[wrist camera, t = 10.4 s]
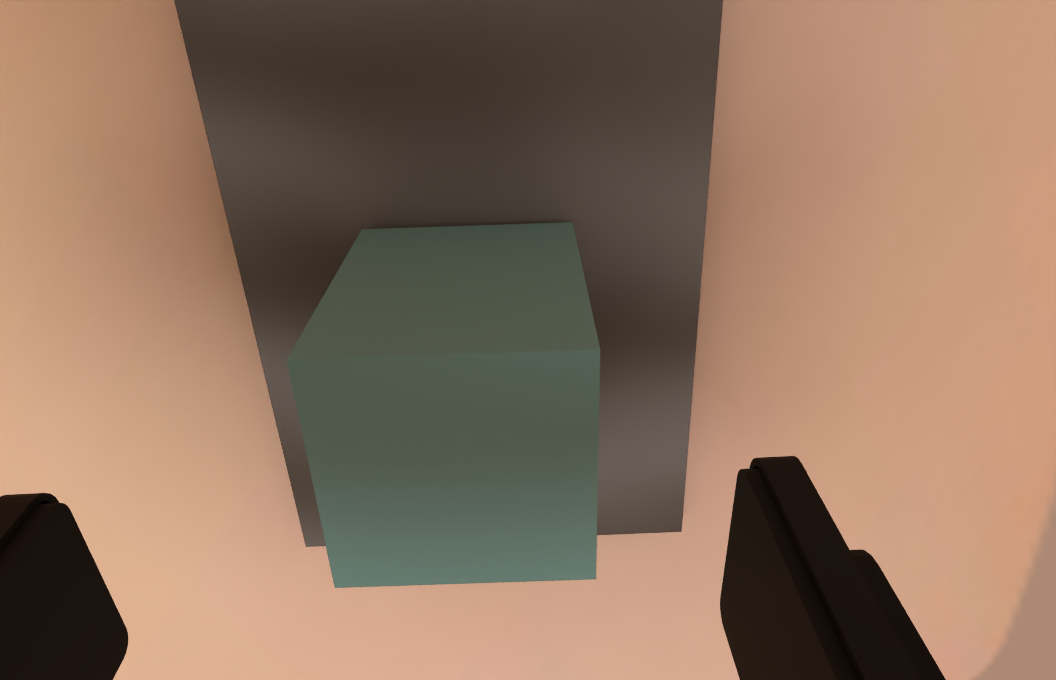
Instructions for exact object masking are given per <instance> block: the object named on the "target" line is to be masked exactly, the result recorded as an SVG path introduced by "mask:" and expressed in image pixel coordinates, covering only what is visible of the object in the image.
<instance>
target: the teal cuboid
mask: <svg viewBox="0 0 1056 680" xmlns="http://www.w3.org/2000/svg"><path fill="white" fill-rule="evenodd" d="M287 364H288V369H289V373H290V378H291V383H292V388H293V392H294V397H295V402H296V407H297V411H298V416H299V421H300V426H301V430H302V435H303V440H304V444H305V449H306V454H307V459H308V463H309V468H310V473H311V478H312V482H313V487H314V492H315V496H316V501H317V506H318V511H319V515H320V520H321V525H322V530H323V534H324V539H325V544H326V549H327V553H328V558H329V563H330V567H331V572H332V577H333V582H334V586H335V588H344V587H374V586H404V585H435V584H465V583H495V582H525V581H555V580H586V579H596V549H597V496H598V443H599V390H600V346H599V341H598V337H597V332H596V327H595V323H594V318H593V314H592V309H591V304H590V300H589V295H588V291H587V286H586V282H585V277H584V272H583V268H582V263H581V259H580V254H579V250H578V245H577V240H576V236H575V231H574V227H573V222H565V223H535V224H505V225H475V226H445V227H415V228H385V229H362V230H361V232H360V233H359V235H358V237H357V238H356V240H355V242H354V244H353V245H352V247H351V249H350V251H349V252H348V254H347V256H346V258H345V259H344V261H343V263H342V264H341V266H340V268H339V270H338V271H337V273H336V275H335V277H334V278H333V280H332V282H331V284H330V285H329V287H328V289H327V291H326V292H325V294H324V296H323V297H322V299H321V301H320V303H319V304H318V306H317V308H316V310H315V311H314V313H313V315H312V317H311V318H310V320H309V322H308V323H307V325H306V327H305V329H304V330H303V332H302V334H301V336H300V337H299V339H298V341H297V343H296V344H295V346H294V348H293V349H292V351H291V353H290V355H289V356H288V358H287Z"/></svg>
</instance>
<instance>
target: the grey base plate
mask: <svg viewBox="0 0 1056 680" xmlns="http://www.w3.org/2000/svg"><path fill="white" fill-rule="evenodd" d="M174 1H175V5H176V9H177V13H178V17H179V21H180V26H181V30H182V34H183V38H184V42H185V46H186V51H187V55H188V59H189V63H190V67H191V71H192V75H193V80H194V84H195V88H196V92H197V96H198V100H199V105H200V109H201V113H202V117H203V121H204V125H205V129H206V134H207V138H208V142H209V146H210V150H211V154H212V158H213V163H214V167H215V171H216V175H217V179H218V183H219V188H220V192H221V196H222V200H223V204H224V208H225V212H226V217H227V221H228V225H229V229H230V233H231V237H232V241H233V246H234V250H235V254H236V258H237V262H238V266H239V271H240V275H241V279H242V283H243V287H244V291H245V295H246V300H247V304H248V308H249V312H250V316H251V320H252V324H253V329H254V333H255V337H256V341H257V345H258V349H259V354H260V358H261V362H262V366H263V370H264V374H265V378H266V383H267V387H268V391H269V395H270V399H271V403H272V408H273V412H274V416H275V420H276V424H277V428H278V432H279V437H280V441H281V445H282V449H283V453H284V457H285V461H286V466H287V470H288V474H289V478H290V482H291V486H292V491H293V495H294V499H295V503H296V507H297V511H298V515H299V520H300V524H301V528H302V532H303V536H304V540H305V544H306V547H312V546H326V544H325V539H324V534H323V530H322V525H321V520H320V515H319V511H318V506H317V501H316V496H315V492H314V487H313V482H312V478H311V473H310V468H309V463H308V459H307V454H306V449H305V444H304V440H303V435H302V430H301V426H300V421H299V416H298V411H297V407H296V402H295V397H294V392H293V388H292V383H291V378H290V373H289V369H288V364H287V358H288V356H289V355H290V353H291V351H292V349H293V348H294V346H295V344H296V343H297V341H298V339H299V337H300V336H301V334H302V332H303V330H304V329H305V327H306V325H307V323H308V322H309V320H310V318H311V317H312V315H313V313H314V311H315V310H316V308H317V306H318V304H319V303H320V301H321V299H322V297H323V296H324V294H325V292H326V291H327V289H328V287H329V285H330V284H331V282H332V280H333V278H334V277H335V275H336V273H337V271H338V270H339V268H340V266H341V264H342V263H343V261H344V259H345V258H346V256H347V254H348V252H349V251H350V249H351V247H352V245H353V244H354V242H355V240H356V238H357V237H358V235H359V233H360V232H361V230H362V229H385V228H415V227H445V226H475V225H505V224H535V223H565V222H573V227H574V231H575V236H576V240H577V245H578V250H579V254H580V259H581V263H582V268H583V272H584V277H585V282H586V286H587V291H588V295H589V300H590V304H591V309H592V314H593V318H594V323H595V327H596V332H597V337H598V341H599V346H600V390H599V443H598V496H597V535H610V534H635V533H660V532H681V531H682V518H683V505H684V492H685V480H686V467H687V454H688V441H689V428H690V415H691V403H692V390H693V377H694V364H695V351H696V338H697V325H698V313H699V300H700V287H701V274H702V261H703V248H704V236H705V223H706V210H707V197H708V184H709V171H710V159H711V146H712V133H713V120H714V107H715V94H716V82H717V69H718V56H719V43H720V30H721V17H722V5H723V0H174Z"/></svg>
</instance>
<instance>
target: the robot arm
mask: <svg viewBox="0 0 1056 680" xmlns="http://www.w3.org/2000/svg"><path fill="white" fill-rule="evenodd" d="M720 610H721V618H722V623H723V627H724V630H725V633H726V637H727V640H728V643H729V646H730V649H731V653H732V656H733V659H734V662H735V665H736V668H737V672H738V675H739V678H740V680H946V679H945V678H944V676H943V674H942V673H941V671H940V669H939V667H938V666H937V664H936V662H935V661H934V659H933V657H932V655H931V654H930V652H929V650H928V649H927V647H926V645H925V644H924V642H923V640H922V638H921V637H920V635H919V633H918V632H917V630H916V628H915V626H914V625H913V623H912V621H911V620H910V618H909V616H908V615H907V613H906V611H905V609H904V608H903V606H902V604H901V603H900V601H899V599H898V597H897V596H896V594H895V592H894V591H893V589H892V587H891V586H890V584H889V582H888V580H887V579H886V577H885V575H884V574H883V572H882V570H881V568H880V567H879V565H878V564H877V562H876V561H875V560H874V558H873V557H872V556H871V555H870V554H869V553H867V552H866V551H865V550H849V548H848V546H847V545H846V543H845V541H844V539H843V537H842V535H841V534H840V532H839V530H838V528H837V526H836V525H835V523H834V521H833V519H832V517H831V516H830V514H829V512H828V510H827V508H826V507H825V505H824V503H823V501H822V499H821V498H820V496H819V494H818V492H817V490H816V489H815V487H814V485H813V483H812V481H811V480H810V478H809V476H808V474H807V472H806V471H805V469H804V467H803V465H802V463H801V462H800V461H799V459H798V458H797V457H795V456H786V457H765V458H755V459H753V460H752V462H751V465H750V469H741V470H739V472H738V476H737V482H736V489H735V496H734V504H733V511H732V518H731V525H730V533H729V540H728V547H727V554H726V562H725V569H724V576H723V583H722V591H721V598H720ZM127 646H128V632H127V629H126V627H125V625H124V622H123V620H122V618H121V616H120V614H119V612H118V610H117V608H116V606H115V603H114V601H113V599H112V597H111V595H110V593H109V591H108V589H107V587H106V584H105V582H104V580H103V578H102V576H101V574H100V572H99V570H98V568H97V565H96V563H95V561H94V559H93V557H92V555H91V553H90V551H89V549H88V546H87V544H86V542H85V540H84V538H83V536H82V534H81V532H80V530H79V527H78V525H77V523H76V521H75V519H74V517H73V515H72V513H71V511H70V509H69V508H68V506H67V505H65V504H64V503H59V501H58V500H57V499H56V497H54V496H53V495H51V494H48V493H37V494H17V495H4V496H1V497H0V680H113V678H114V676H115V674H116V672H117V670H118V668H119V666H120V664H121V663H122V661H123V659H124V656H125V654H126V650H127Z"/></svg>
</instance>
